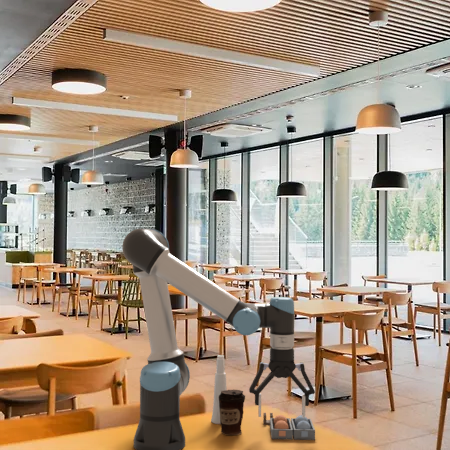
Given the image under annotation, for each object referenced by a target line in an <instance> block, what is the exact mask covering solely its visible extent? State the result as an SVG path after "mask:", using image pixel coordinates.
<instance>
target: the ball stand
mask: <svg viewBox="0 0 450 450" xmlns="http://www.w3.org/2000/svg"><path fill="white" fill-rule="evenodd" d="M270 418H274V415H273V412H269V419H267V413H266V412H263V419H262V420H263V421H262V422H263V426H264V425H265V426H267V425H269V426H270Z"/></svg>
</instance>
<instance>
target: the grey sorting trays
mask: <svg viewBox="0 0 450 450" xmlns="http://www.w3.org/2000/svg"><path fill="white" fill-rule="evenodd" d="M274 418H275V417H273V418H270V417H269V420H270V425H269V429H270V438H271V440H289V441H290V440H291V441H292V440H294V441H295V440H296V441H297V440H299V441H316V429H315V425H314V424H313V421H312V418H307V419H308V421H309V424H310V427H311V430H310V429H297V428H296V425H295V419H296V418H297V417H296V418H286V419H287V424H288V427H289V429H274V427H275V426H274Z"/></svg>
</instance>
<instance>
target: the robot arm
mask: <svg viewBox="0 0 450 450" xmlns="http://www.w3.org/2000/svg"><path fill="white" fill-rule="evenodd" d="M170 252H171V251H170V245H169V241H168V239H167V238H166V236H165V234H163V233H162V232H161V231H160V230H157V229H154V228H136V229H134V230H131V231H130V232H129V233H128V234H126V236H125V237H124V239H123V241H122V253H123V255H124V257H125V260H127V262H128V263H130V264H131V265H132V271H133V275H135V277H137V278H138V279H139V284H140V291H141V297H142V303H143V310H144V316H145V321H146V327H147V335H148V340H149V341H148V342H149V347H150V355H148V357H147V358H146V359H147V364H145V365H144V366H143V367H142V368H141V370H140V376H139V422H138V424H137V427H136V430H135V433H134V437H133V448H134V450H182V449H184V448H185V446H186V435H185V432H184V429H183V426H182V422H181V419H180V411H181V410H180V405H181V404H180V403H181V402H180V401H181V399H180V396H181V395H182V394H183V393H184V392H185V391H186V389H187V388H188V385H189V384H190V383H189V382H190V376H191V375H190V374H191V373H190V369H189V366H188V364H187V363H186V360H185V355H184V354H185V353H184V351H183V350H181V349H180V348H179V346H178V340H177V333H176V329H175V328H176V327H175V322H174V316H173V309H172V305H171V296H170V292H169V285H170V286H172V287H174V288H175V289H176V290H178V291H179V292H180V293H183V294H184V295H185V296H187V297H189V298H190V299H191V300H193V301H195V302H196V303H198V304H199V305H201V306H202V307H203V308H205V309H206V310H208V311H209V312H211V313H212V314H214V315H216V316H217V317H219V318H220V319H222V320H223V321H225V322H226V323H227V324H229V325H231V327H233V329H235V332H237V333H238V334H240V335H242V336H250V335H253V334H254V333H256V332H257V331H258V330H259V329H261V328H263V329H269V346H270V348H269V362H268V363H266V362H264V361H261V362H259V369H258V371H257V372H256V374H255V376H254V378H253V380H252V382H251V385H250V386H249V387H248V388H249V389H248V392H249V393H250V394H253V395H254V405H255V406H258V413H257V414H258V418H261V417H262V391H263V390H264V389H265V388H266V387H267V385H268V384H269V383H270V382H271V381H272V380H273V379H274V378H277V379H280V378H283V379H288V378H291V380H292V382H294V383H295V385H296V386H297V387H298V388H299V389H300V390H301V392H302V394H301V415H302V416H303V418H305V417H306V407H309V405H310V396H311V395H314V394H315V393H316V391H315V389H314V386H313V385H312V383H311V381H310V378H309V376H308V375H307V373H306V367H305V364H304V362H299V363H295V349H294V348H293V347H295V300H293V298H292V297H288V296H287V297H286V296H279V297H278V296H273V297H271V298H270V301H269V303H245V302H244V301H242V300H240V299H239V298H237V297H236V296H234V295H233V294H231V293H229V292H228V291H227V290H225V289H223V288H222V287H220V286H219V285H218V284H216V283H214V282H213V281H212V280H210V279H209V278H207V277H205V276H204V275H202V274H201V273H200V272H198V271H196V270H195V269H193V268H192V267H191V266H189V265H187V264H186V263H185V262H183V261H181V260H180V259H178V258H177V257H175V256H174V255H173V254H172V253H170ZM267 369H269V371H270V372H269V373H268V375H267V376H266V377H265V378H264V380H262V382H260V384H259V386H257V385H258V383H259V381H260V379H261V377H262V375H263V372H264V371H266V370H267ZM296 369H297V370H298V371H299V372H300V373H301V376H302V377H303V379H304V381H305V383H306V385H307V387H308V389H307V388H306V387H305V385H304V384H303V383H302V382H301V381H300V379H299V378H298V377H297V375H295V374H294V371H295V370H296ZM256 386H257V387H256Z"/></svg>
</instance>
